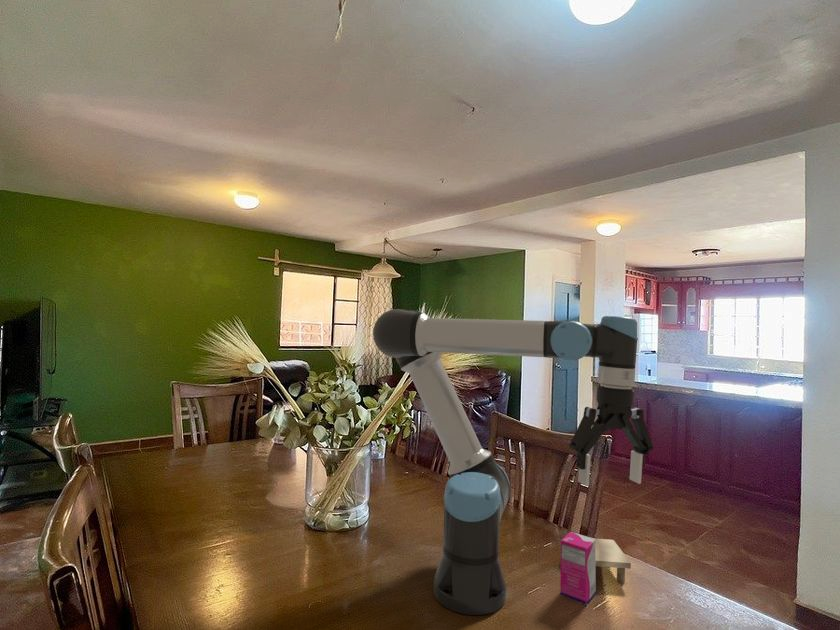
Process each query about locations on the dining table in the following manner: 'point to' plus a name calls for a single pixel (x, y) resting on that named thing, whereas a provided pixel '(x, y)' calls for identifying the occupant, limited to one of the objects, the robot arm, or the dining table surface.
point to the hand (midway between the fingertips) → (609, 482)
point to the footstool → (611, 557)
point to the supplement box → (578, 567)
